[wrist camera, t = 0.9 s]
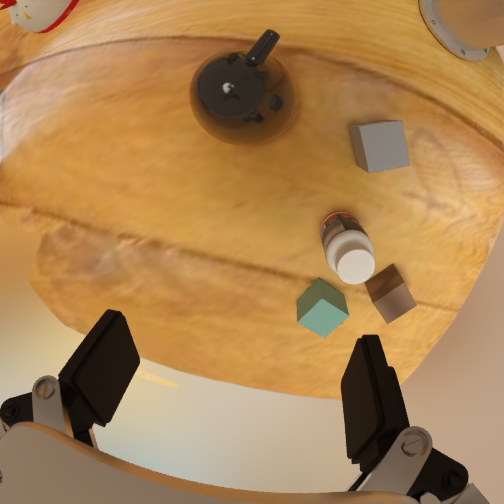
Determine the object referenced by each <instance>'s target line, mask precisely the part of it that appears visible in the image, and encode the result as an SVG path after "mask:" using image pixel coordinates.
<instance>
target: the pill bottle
mask: <svg viewBox="0 0 504 504" xmlns="http://www.w3.org/2000/svg"><path fill="white" fill-rule="evenodd" d="M320 236H321V240H322V244H323V248H324V252H325V256H326V260H327V263H328V265H329V267H330V268H331V269H332V270H333V271H334V272H335V273H337V274H338V275H339V277H340V278H341V280H342V281H344V282H346V283H348V284H360V283H362V282H364V281H366V280H367V279H369V278H370V277H371V275H372V274H373V272H374V269H375V260H374V247H373V244H372V242H371V240H370V238H369V237H368V235H367V234H366V232H365V231H364V229H363V228H362V226H361V225H360V223H359V222H358V220H357V219H356V218H355V217H354V216H353V215H351V214H350V213H347V212H335V213H333V214H331V215H329V216H328V217H326V219H325V220H324V221H323V223H322V225H321V229H320Z"/></svg>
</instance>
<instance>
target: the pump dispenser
mask: <svg viewBox="0 0 504 504" xmlns="http://www.w3.org/2000/svg"><path fill="white" fill-rule="evenodd" d="M279 38H280V35H279V34H278V33H277V32H275V31H274V30H271V29H268V30H266V31H265V32H264V33H263V35H262V36H261V37H260V38H259V39H258V40H257V42H256V43H255V44H254V45H253V46H252V48H251V49H246V48H237V49H229V50H225V51H221V52H219V53H216V54H214V55H212V56H211V57H209V58H208V59H206V60H205V61H204V62H203V63H202V64H201V65H200V66H199V67H198V69H197V70H196V71H195V73H194V75H193V77H192V80H191V83H190V88H189V100H190V105H191V109H192V112H193V114H194V116H195V118H196V120H197V121H198V123H199V124H200V125H201V127H202V128H203V129H204V130H205V131H206V132H207V133H209V134H210V135H211V136H213V137H214V138H216V139H218V140H220V141H222V142H225V143H228V144H231V145H235V146H242V147H252V146H258V145H262V144H266V143H268V142H270V141H272V140H274V139H276V138H277V137H279V136H280V135H281V134H283V133H284V132H285V131H286V130H287V129H288V127H289V126H290V125H291V123H292V121H293V120H294V117H295V115H296V112H297V108H298V91H297V87H296V84H295V81H294V79H293V77H292V76H291V74H290V73H289V71H288V70H287V69H286V68H285V67H284V65H283V64H281V63H280V62H279V61H278V60H277V59H275V58H274V57H272V56H270V55H269V54H270V52H271V51H272V49H273V48H274V46H275V44H276V43H277V41H278V40H279Z"/></svg>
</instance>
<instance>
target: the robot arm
mask: <svg viewBox="0 0 504 504" xmlns="http://www.w3.org/2000/svg"><path fill="white" fill-rule="evenodd" d="M419 6H420V11H421V14H422V16H423V19H424V21H425V22H426V24H427V26H428V28H429V29H430V31H431V32H432V34H433V35H434V36H435V37H436V38H437V40H438V41H439V42H440V43H441V44H442V45H443V46H444V47H445V48H446V49H448V50H449V51H450V52H451V53H453V54H454V55H456V56H457V57H459V58H461V59H464V60H467V61H472V62H476V61H481V60H483V59H485V58H486V57H487V56H488V54H489V51H490V47H495V46H500V45H504V0H419ZM139 364H140V357H139V354H138V352H137V349H136V347H135V344H134V341H133V338H132V336H131V333H130V330H129V327H128V324H127V321H126V318H125V316H123V315H122V313H121V312H120V311H115V310H110V309H108V310H107V311H106V312H105V313H104V314H103V315H102V317H101V318H100V319H99V320H98V322H97V323H96V324H95V325H94V327H93V328H92V329H91V331H90V332H89V333H88V335H87V336H86V337H85V339H84V340H83V341H82V343H81V344H80V345H79V347H78V348H77V349H76V351H75V352H74V353H73V355H72V356H71V358H70V359H69V360H68V362H67V363H66V365H65V366H64V367H63V369H62V370H61V372H60V373H59V375H58V376H59V379H58V380H57V379H56V378H55V377H53V376H49V375H48V376H43V377H41V378H39V379H38V380H37V381H36V383H34V386H33V389H32V392H30V393H27V394H23V395H20V396H16V397H13V398H9V399H7V400H6V401H5V402H3V404H2V405H1V408H0V504H490V503H489V502H488V501H487V499H486V498H485V497H484V496H483V495H482V494H481V492H480V491H479V490H478V489H477V488H476V487H475V485H474V484H473V483H471V484H469V483H468V471H467V469H466V468H465V467H464V466H463V465H462V464H460V463H458V462H456V461H455V460H453V459H451V458H449V457H448V456H446V455H444V454H443V453H441V452H439V451H438V450H436V449H434V448H433V447H432V438H431V436H430V434H429V433H428V431H426V430H425V429H423V428H420V427H416V426H412V427H410V425H409V421H408V417H407V412H406V408H405V404H404V400H403V397H402V393H401V390H400V386H399V382H398V379H397V376H396V372H395V370H394V368H393V367H391V366H388V364H387V361H386V358H385V354H384V351H383V348H382V345H381V342H380V339H379V336H378V335H363V336H362V338H358V339H357V341H356V344H355V347H354V350H353V352H352V355H351V358H350V360H349V363H348V365H347V368H346V370H345V373H344V375H343V378H342V381H341V394H342V401H343V412H344V421H345V434H346V447H347V457H348V458H349V459H352V464H359V463H360V471H361V473H360V474H359V475H358V477H357V478H356V479H355V480H354V482H353V483H352V484H351V485H350V486H349V487H348V488H347V490H346V491H345V492H331V493H273V492H258V491H248V490H239V489H232V488H224V487H219V486H213V485H208V484H203V483H198V482H193V481H189V480H185V479H180V478H177V477H173V476H169V475H166V474H162V473H159V472H155V471H152V470H149V469H146V468H143V467H140V466H137V465H134V464H132V463H129V462H126V461H124V460H121V459H119V458H116V457H114V456H111V455H109V454H107V453H104V452H102V451H100V450H99V449H98V446H97V443H96V440H95V436H94V433H93V429H92V426H93V424H94V423H95V424H98V425H100V426H102V427H105V426H106V423H109V422H110V421H111V419H112V417H113V415H114V413H115V411H116V409H117V407H118V405H119V403H120V401H121V399H122V397H123V395H124V393H125V391H126V389H127V387H128V385H129V383H130V381H131V379H132V378H133V376H134V374H135V372H136V370H137V368H138V366H139Z"/></svg>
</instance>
